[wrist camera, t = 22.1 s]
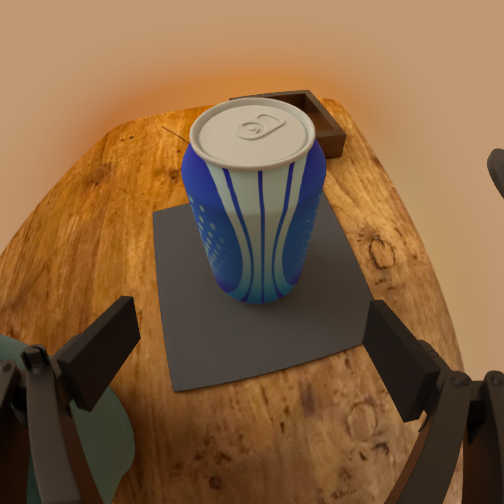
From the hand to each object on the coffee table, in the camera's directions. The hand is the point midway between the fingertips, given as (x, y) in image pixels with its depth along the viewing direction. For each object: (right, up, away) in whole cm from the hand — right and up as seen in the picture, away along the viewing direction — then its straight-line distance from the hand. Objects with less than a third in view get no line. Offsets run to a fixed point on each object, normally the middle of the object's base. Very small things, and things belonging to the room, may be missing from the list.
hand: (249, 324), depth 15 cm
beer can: (+1, +2, +13) cm, 13 cm away
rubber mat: (+1, +2, +13) cm, 13 cm away
